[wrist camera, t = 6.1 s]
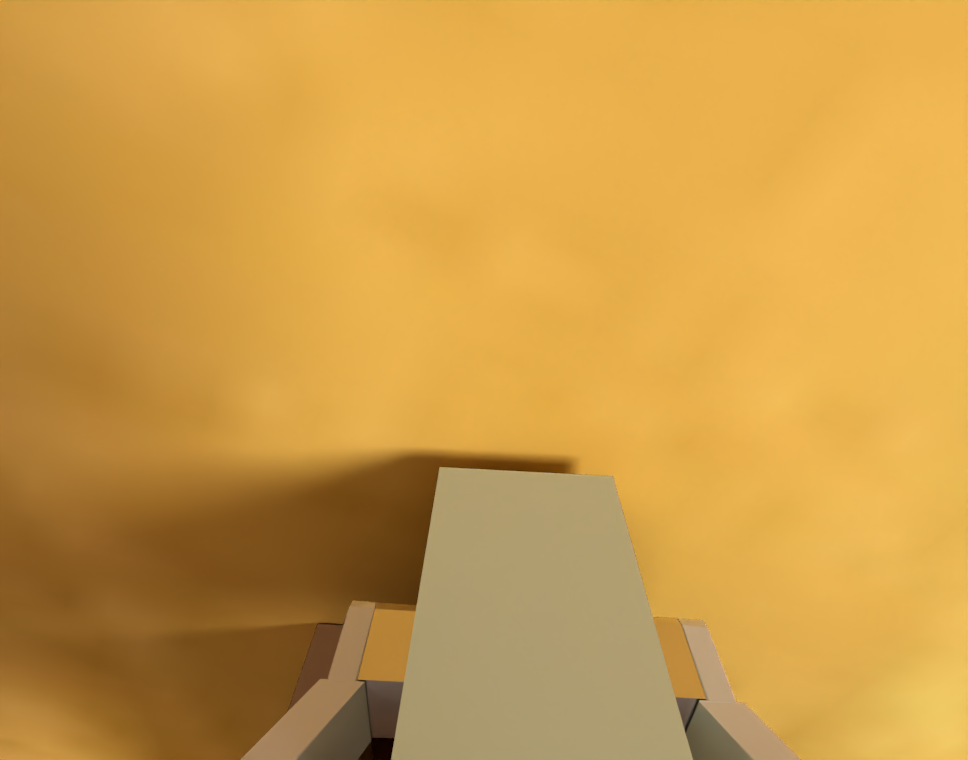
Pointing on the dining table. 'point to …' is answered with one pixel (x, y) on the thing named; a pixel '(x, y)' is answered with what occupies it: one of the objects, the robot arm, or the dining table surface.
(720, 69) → the dining table surface
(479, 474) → the sage paddle
